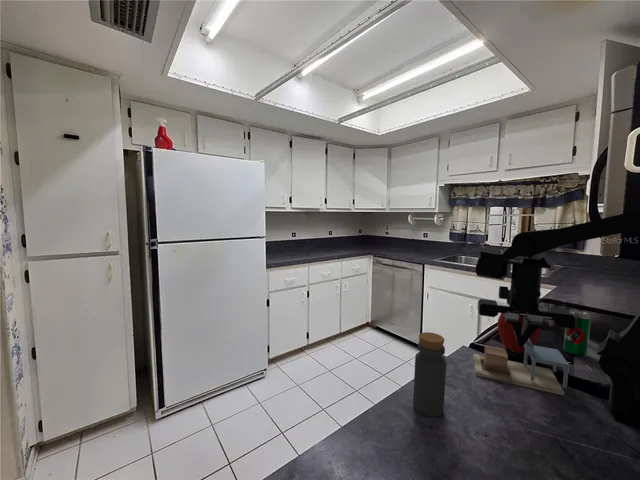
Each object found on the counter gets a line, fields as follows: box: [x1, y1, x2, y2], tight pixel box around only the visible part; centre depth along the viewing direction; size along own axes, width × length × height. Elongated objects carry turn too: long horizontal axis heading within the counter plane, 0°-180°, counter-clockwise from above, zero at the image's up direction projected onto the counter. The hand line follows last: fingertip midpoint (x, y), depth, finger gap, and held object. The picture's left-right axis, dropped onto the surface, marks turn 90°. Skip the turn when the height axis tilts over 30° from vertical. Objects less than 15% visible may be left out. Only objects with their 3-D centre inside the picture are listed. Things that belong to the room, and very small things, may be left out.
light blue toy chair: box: [523, 339, 569, 389], centre depth 67 cm, size 8×7×8 cm
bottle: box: [412, 331, 447, 418], centre depth 57 cm, size 6×6×15 cm
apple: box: [497, 311, 542, 354], centre depth 81 cm, size 10×10×14 cm
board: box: [472, 353, 565, 396], centre depth 70 cm, size 10×17×1 cm, turn 64°
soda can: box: [563, 309, 592, 357], centre depth 80 cm, size 5×5×12 cm
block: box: [483, 344, 509, 375], centre depth 71 cm, size 4×4×5 cm
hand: (520, 346), depth 68 cm, fingers closed
